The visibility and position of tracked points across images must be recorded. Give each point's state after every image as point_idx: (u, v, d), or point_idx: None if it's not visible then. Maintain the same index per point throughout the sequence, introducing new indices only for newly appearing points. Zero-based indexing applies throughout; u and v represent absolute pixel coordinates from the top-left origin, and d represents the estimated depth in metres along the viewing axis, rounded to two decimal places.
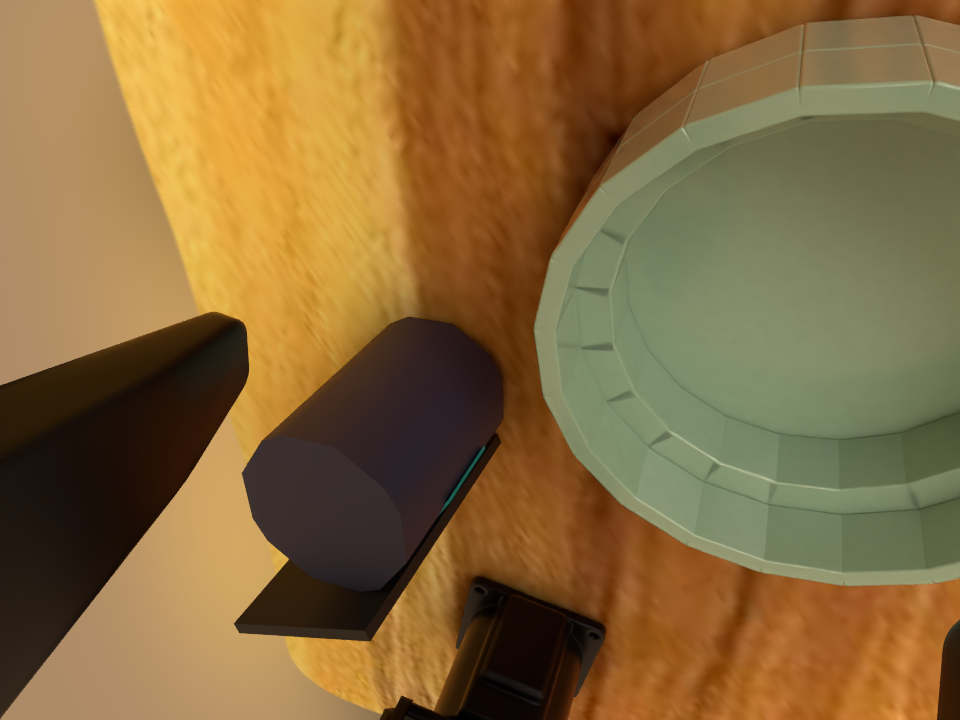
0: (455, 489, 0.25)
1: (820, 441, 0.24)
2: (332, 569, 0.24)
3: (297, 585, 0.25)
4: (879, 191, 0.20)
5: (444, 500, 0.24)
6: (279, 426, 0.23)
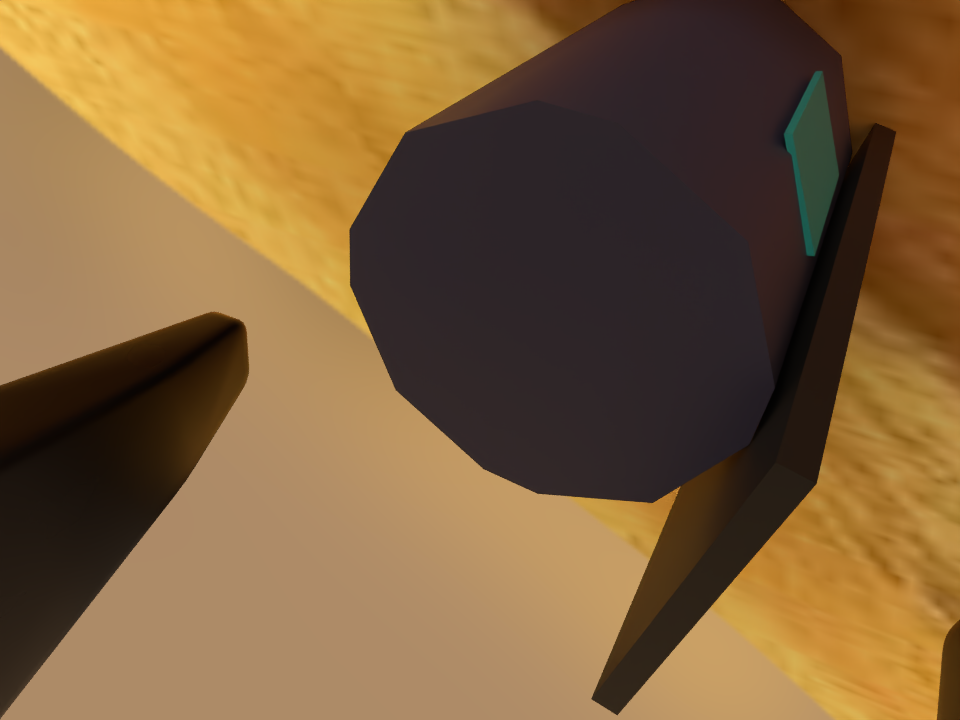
0: (793, 121, 0.10)
1: None
2: (661, 440, 0.10)
3: (665, 555, 0.11)
4: None
5: (778, 142, 0.10)
6: None
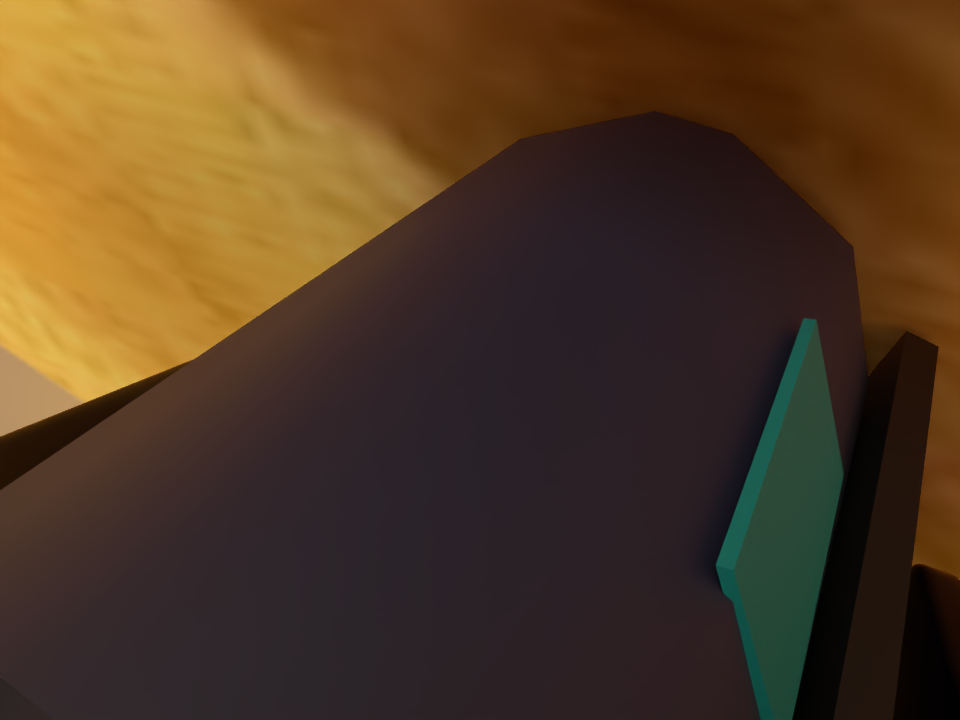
0: (745, 501, 0.05)
1: None
2: None
3: None
4: None
5: (706, 574, 0.05)
6: None
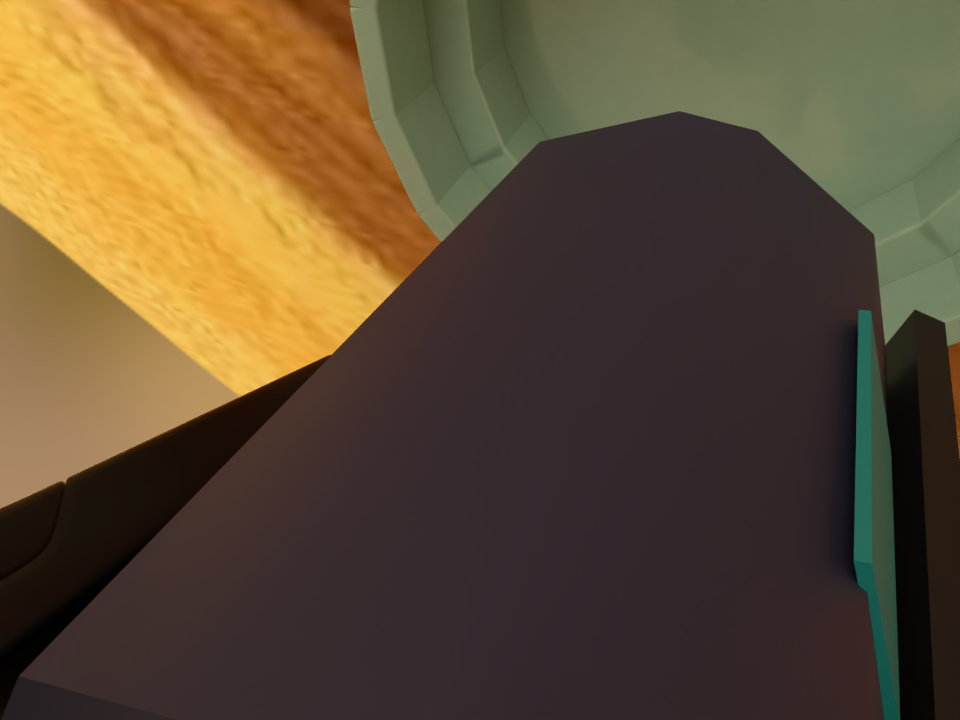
0: (859, 495, 0.05)
1: (959, 139, 0.17)
2: None
3: None
4: None
5: (842, 569, 0.05)
6: None
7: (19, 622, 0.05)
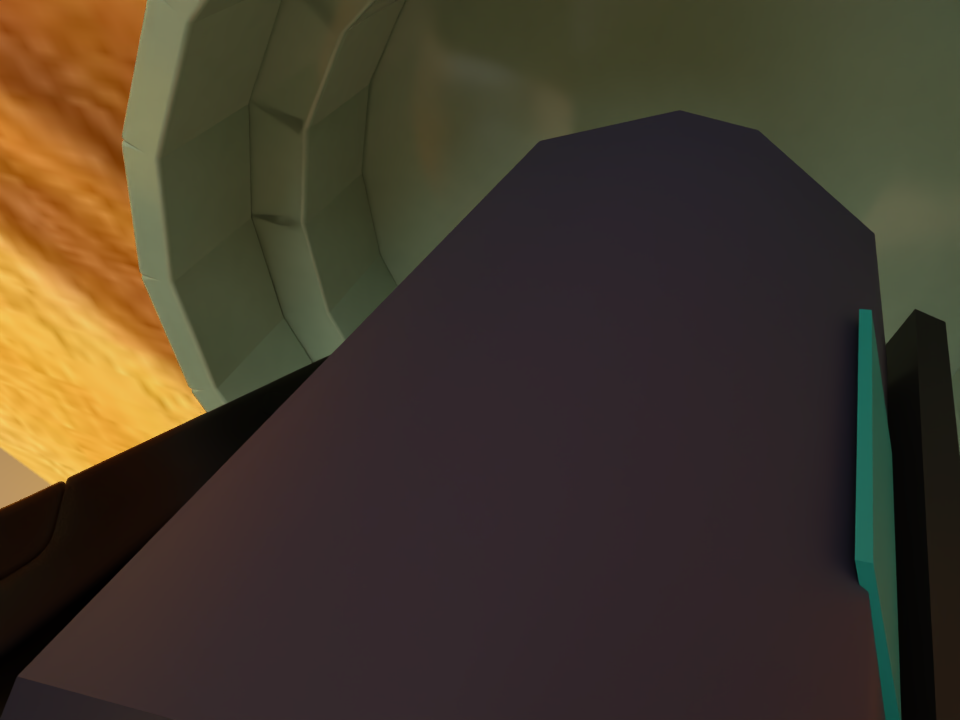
0: (859, 494, 0.05)
1: None
2: None
3: None
4: (549, 84, 0.13)
5: (842, 568, 0.05)
6: None
7: (19, 622, 0.05)
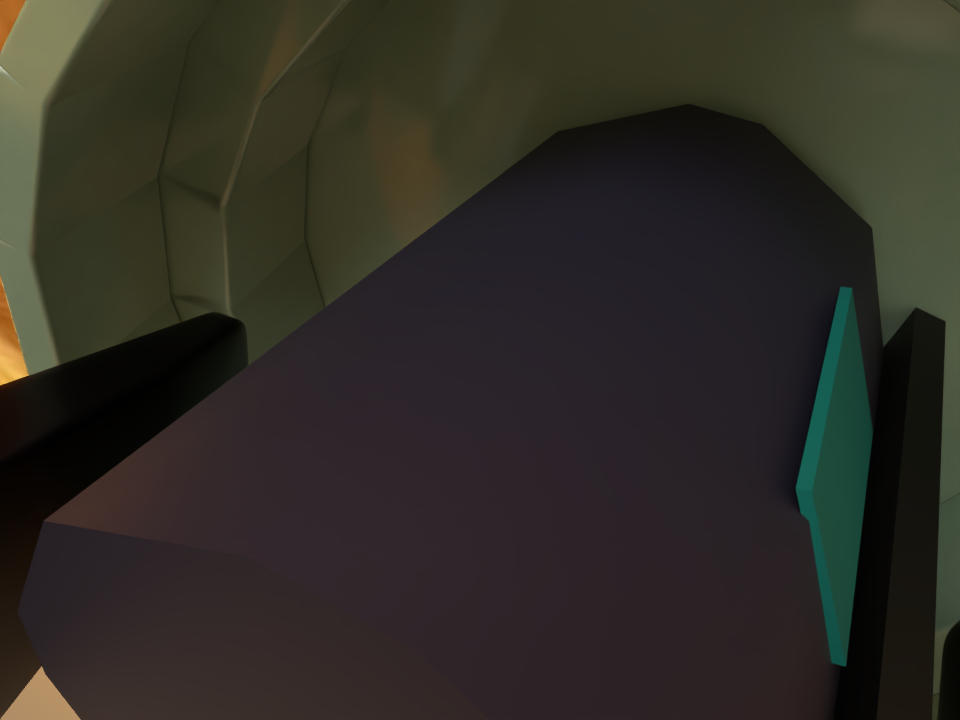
0: (811, 438, 0.06)
1: (943, 510, 0.12)
2: None
3: None
4: (510, 151, 0.11)
5: (785, 497, 0.05)
6: None
7: None
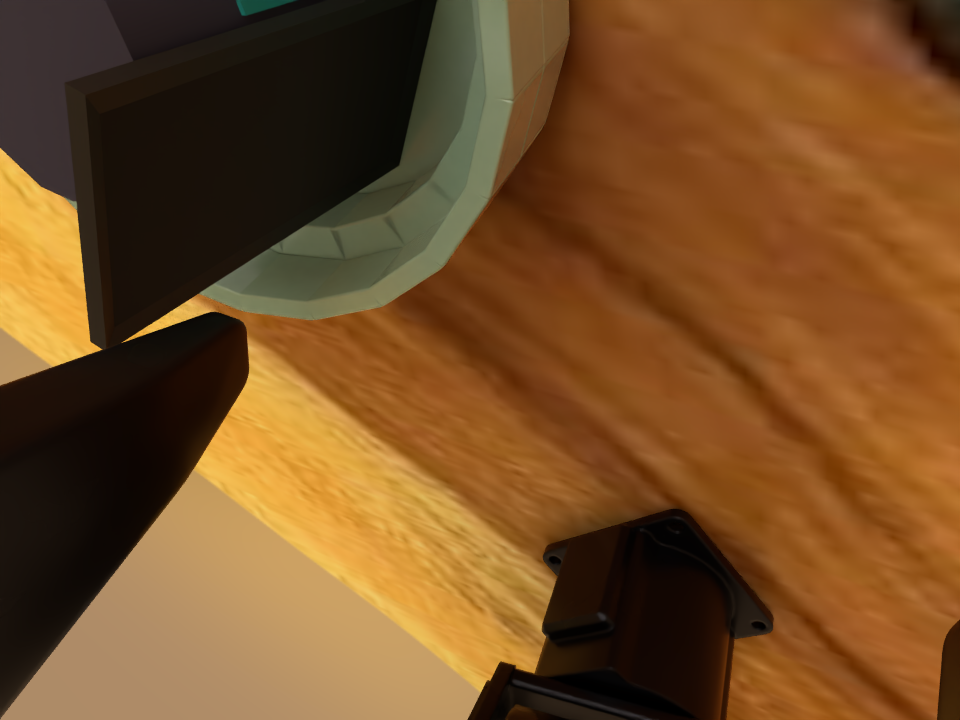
0: None
1: None
2: None
3: None
4: None
5: None
6: None
7: None
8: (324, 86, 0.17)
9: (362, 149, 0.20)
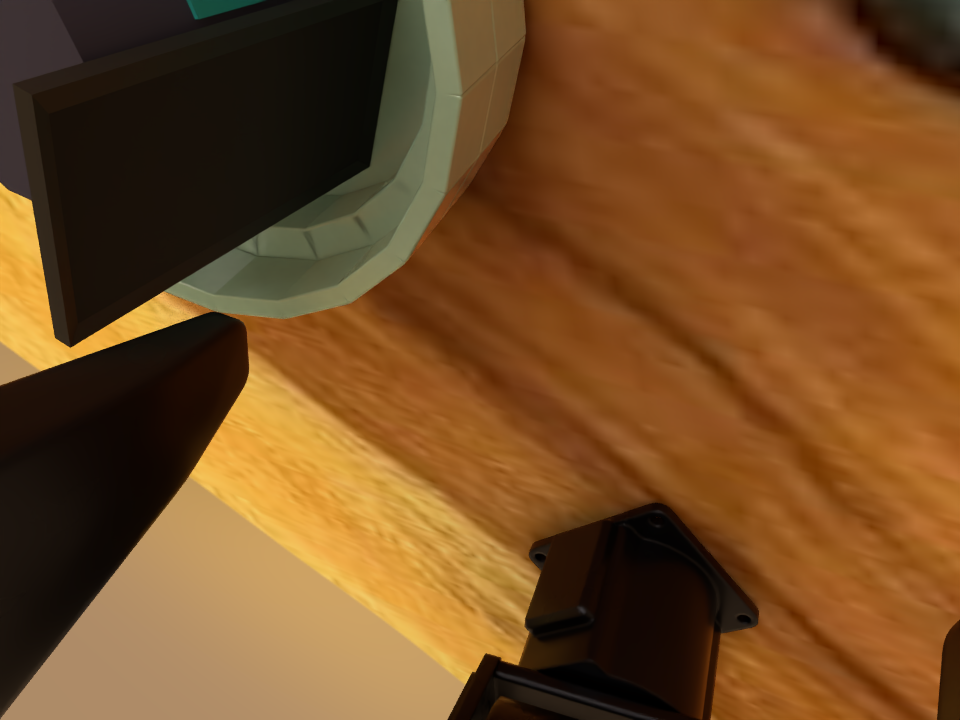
0: None
1: None
2: None
3: None
4: None
5: None
6: None
7: None
8: (284, 88, 0.17)
9: (329, 151, 0.20)
